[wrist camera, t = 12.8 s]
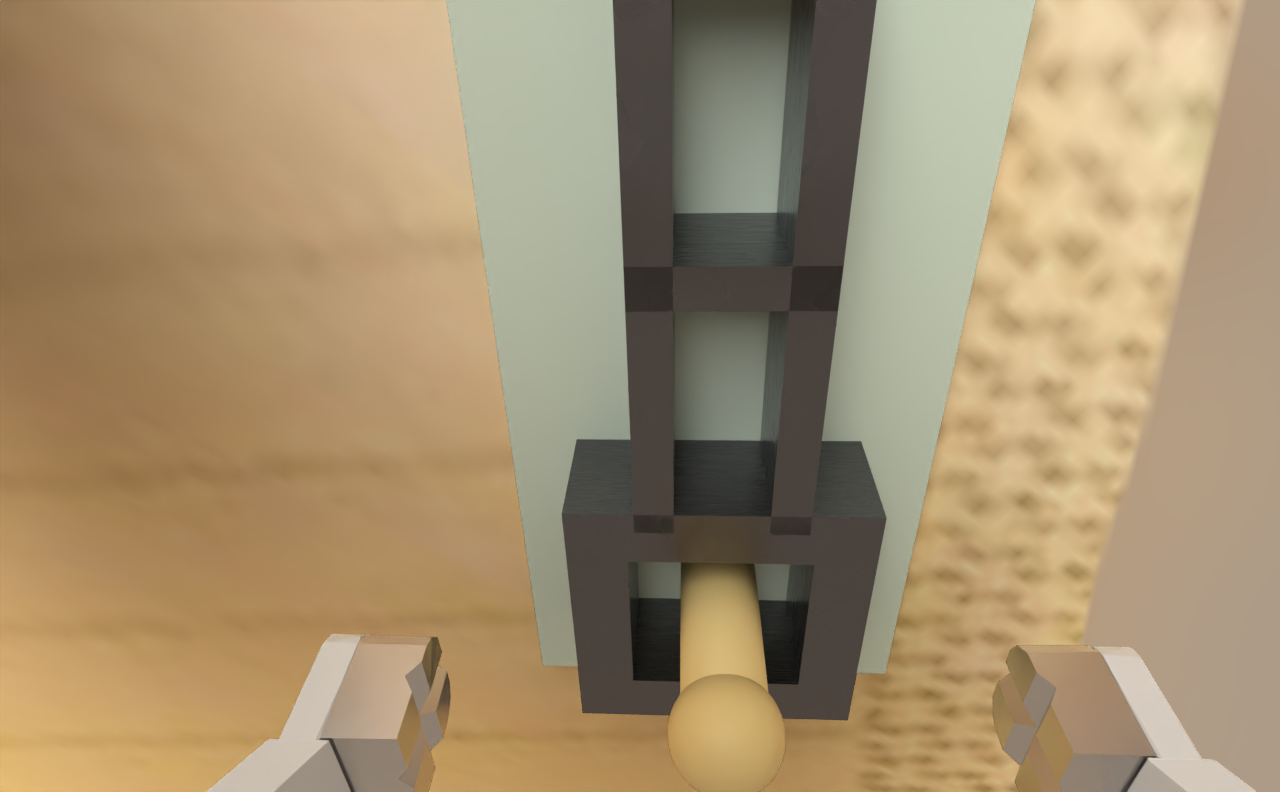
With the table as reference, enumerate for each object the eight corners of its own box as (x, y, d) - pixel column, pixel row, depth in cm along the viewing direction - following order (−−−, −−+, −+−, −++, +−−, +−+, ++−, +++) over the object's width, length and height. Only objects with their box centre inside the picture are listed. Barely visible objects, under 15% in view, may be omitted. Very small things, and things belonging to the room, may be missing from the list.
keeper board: (444, -105, 16) (226, -119, 8) (1043, -126, 15) (1397, -158, 8) (546, 643, 28) (497, 910, 21) (878, 650, 27) (951, 929, 20)
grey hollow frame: (830, 634, 26) (847, 720, 23) (593, 630, 26) (582, 712, 23) (948, -108, 14) (1008, -111, 12) (530, -94, 15) (496, -95, 12)
